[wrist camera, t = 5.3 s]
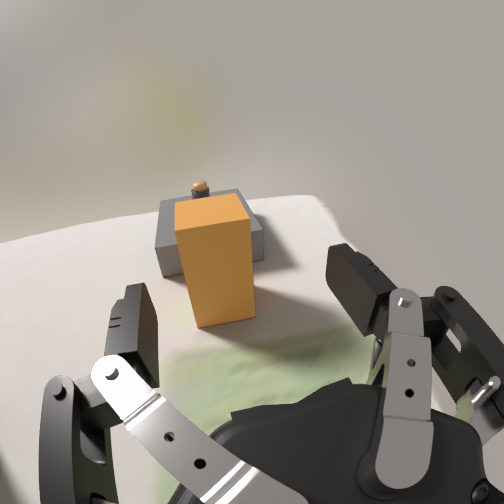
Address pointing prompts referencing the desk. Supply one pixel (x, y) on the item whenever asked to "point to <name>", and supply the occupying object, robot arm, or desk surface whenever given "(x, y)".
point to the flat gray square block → (167, 238)
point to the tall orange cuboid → (216, 258)
